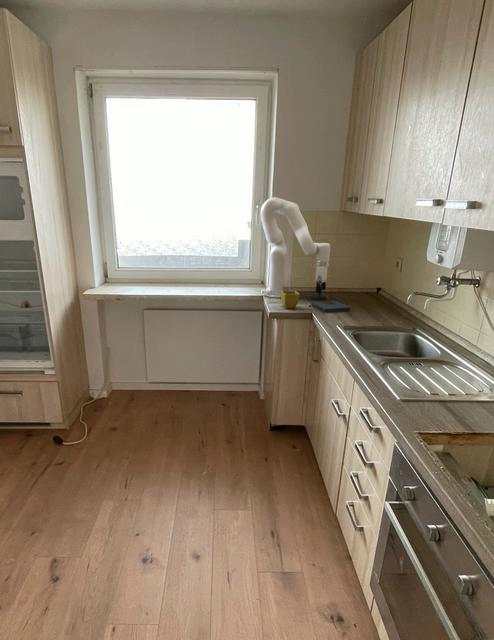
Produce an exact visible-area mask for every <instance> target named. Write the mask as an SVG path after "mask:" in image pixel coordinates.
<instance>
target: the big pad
mask: <svg viewBox="0 0 494 640" xmlns="http://www.w3.org/2000/svg"><path fill="white" fill-rule="evenodd" d="M311 306H312V307H313V308H315V309H317V310H318V311H321V312H323V313H337V312H349V311H351V307H350V306H348V305H346V304H345V303H342V302H339V301H337V300H329V303H328V304H323V303H321V302H320V301H312V302H311Z"/></svg>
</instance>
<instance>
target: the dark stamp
mask: <svg viewBox="0 0 494 640" xmlns="http://www.w3.org/2000/svg"><path fill="white" fill-rule="evenodd" d="M322 292H323V290H322V286H321V293H316V294H312V295H311V296H312V297H311V298H312V299H315V300H316V301H322V300H323V301H324V300H327V296H326V295H324V294H323V293H322Z"/></svg>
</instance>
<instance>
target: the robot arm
mask: <svg viewBox="0 0 494 640" xmlns="http://www.w3.org/2000/svg"><path fill="white" fill-rule="evenodd" d="M276 213H277V214H280V215H283V216H285V218H286V219H287V221H288V223H289V225H290V227H291V229H292V231H293V233H294V235H295V237H296V239H297V241H298V244H299V245H300V247H301V249H302V251H303V254H304V255H306V256H307V257H313V256H316V263H315V264H316V265H315V266H316V270H315V278H314V282H315V293H316V294H317V293H321V294H322V292H321V286H322V291H326V287H327V279H328V267H329V266H330V255H331V254H330V253H331V244H330V243H328V242H314V240H313V239H312V236H311V234H310V232H309V228H308V224H307V222H306V220H305V219H304V218H305V217H303V215H302V212H301V210H300V206H299V205H298V203H296V202H293V201H289V200H286V199H284V198H280V197H276V196H272V197H269V198H267V199H266V201H264V202H263V204H262V205H261V209H260V220H261V224H262V227H263V232H264V236H265V240H266V241H267V243H268V244H269V247H270V252H269V270H268V271H269V273H268V287H267V288H266V289H261V290H260V292H261V293H260V294H265V296H266V297H268V298H275V299H278V298H279V299H281V291H284V285H285V270H286V269H285V267H286V266H285V265H286V256H287V255H288V249H287V246H286V242H285V238H284V234H283V232H282V229H280V228H279V226H278V223H277V219H276V216H275V214H276Z"/></svg>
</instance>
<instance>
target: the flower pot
mask: <svg viewBox="0 0 494 640" xmlns="http://www.w3.org/2000/svg"><path fill="white" fill-rule="evenodd" d="M300 295H301V294H300V293H299V292H298V291H296V290H283V291H281V297H280V301H281V304H282V306H283V307H284V308H285V309H295V308H296V307H297V306H298V303H299V299H300Z"/></svg>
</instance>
